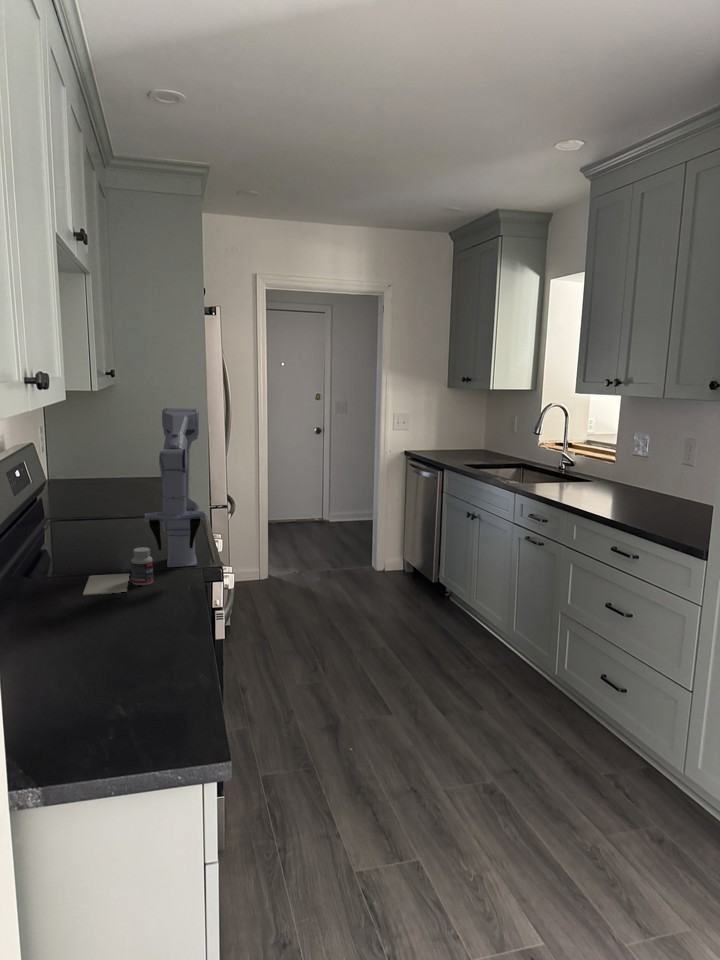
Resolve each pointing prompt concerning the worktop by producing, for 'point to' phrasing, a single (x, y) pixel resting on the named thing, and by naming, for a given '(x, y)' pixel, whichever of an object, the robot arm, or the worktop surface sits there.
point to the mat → (106, 584)
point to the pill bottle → (142, 567)
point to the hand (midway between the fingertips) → (175, 548)
